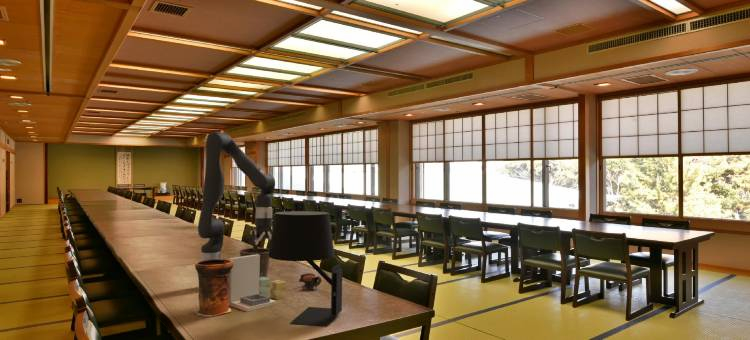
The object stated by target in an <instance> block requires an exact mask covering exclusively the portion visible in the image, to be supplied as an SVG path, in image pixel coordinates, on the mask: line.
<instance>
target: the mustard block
mask: <svg viewBox="0 0 750 340" xmlns="http://www.w3.org/2000/svg"><path fill="white" fill-rule="evenodd" d="M269 297H270V299H271V298H272V299H275V300H279V299H283V298H286V297H287V281H285V280H282V279H276V280H271V282H270V294H269Z"/></svg>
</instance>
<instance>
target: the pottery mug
mask: <svg viewBox="0 0 750 340" xmlns="http://www.w3.org/2000/svg"><path fill="white" fill-rule="evenodd" d="M298 283H303V285H301V291H306V290H309V291H314V288H318V286H320V285H321V284H322V276H321V277H320V276H319V275H317V276H316V274H315V273H311V272H310V273H309V272H308V273H307V272H306V273H303V274H301V275H300V278H299V280H298Z"/></svg>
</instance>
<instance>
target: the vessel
mask: <svg viewBox="0 0 750 340" xmlns="http://www.w3.org/2000/svg"><path fill="white" fill-rule="evenodd" d="M194 268H195V271H196V272H197V277H198V305H199V306H198V307H199V309H198V310H199V311H198V310H197V311H195V312H194V314H195V315H198V316H203V317H212V316H213V317H215V316H218V315H222V314H227V313H231V312H232V308H230V306H229V275H230V271H231V269H232V268H233V261H231V260H229V258H227V259H226V258H224V259H222V258H221V259H213V260H205V261H201V260H200V261H196V262H195V264H194Z"/></svg>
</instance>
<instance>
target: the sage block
mask: <svg viewBox="0 0 750 340" xmlns="http://www.w3.org/2000/svg"><path fill="white" fill-rule="evenodd" d="M271 281H272V279H271V278H270V277H267V278H266V277H261V278H259V294H261V295H264V296H268V295H270V282H271Z"/></svg>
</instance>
